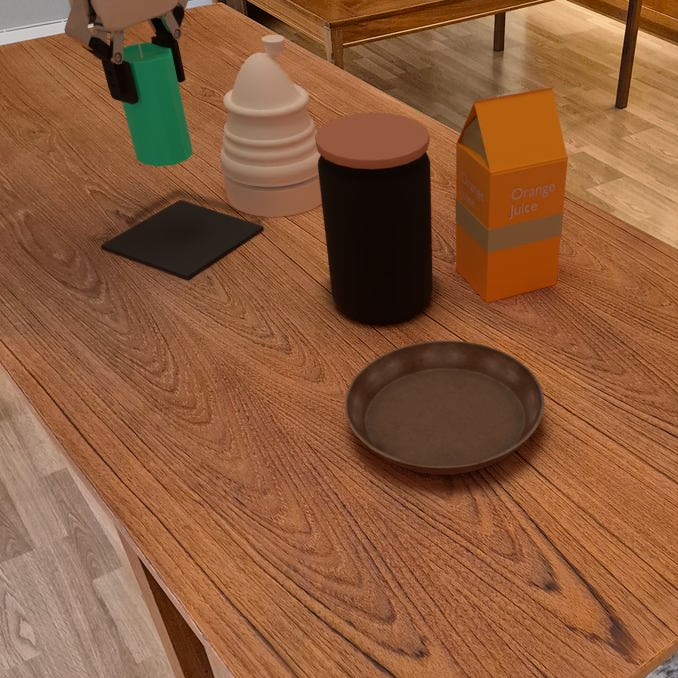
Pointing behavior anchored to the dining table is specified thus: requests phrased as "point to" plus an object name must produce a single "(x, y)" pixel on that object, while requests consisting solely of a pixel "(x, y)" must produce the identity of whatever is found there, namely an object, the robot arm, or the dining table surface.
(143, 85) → the candle
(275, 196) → the honey pot
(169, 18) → the robot arm
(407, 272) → the coffee jar
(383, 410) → the plant saucer
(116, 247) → the mat
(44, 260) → the dining table surface
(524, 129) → the orange juice
